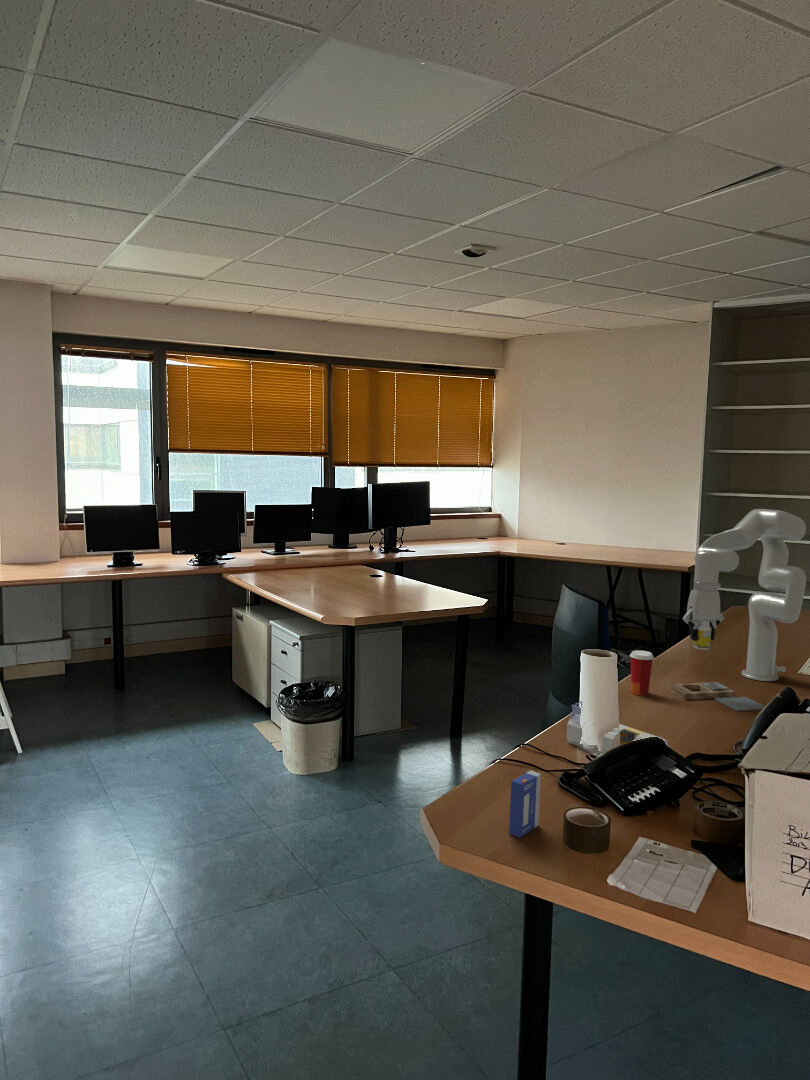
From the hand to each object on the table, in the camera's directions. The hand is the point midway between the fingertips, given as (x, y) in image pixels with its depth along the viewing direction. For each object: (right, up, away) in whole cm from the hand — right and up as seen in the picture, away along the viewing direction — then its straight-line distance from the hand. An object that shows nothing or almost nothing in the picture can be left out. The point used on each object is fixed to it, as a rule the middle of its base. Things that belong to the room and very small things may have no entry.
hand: (702, 639), depth 264 cm
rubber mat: (+10, -20, -7) cm, 24 cm away
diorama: (-44, -25, -52) cm, 72 cm away
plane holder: (+1, -19, +3) cm, 19 cm away
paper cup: (-21, -19, +2) cm, 28 cm away
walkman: (-75, -29, -97) cm, 126 cm away
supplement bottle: (0, -3, 0) cm, 3 cm away
